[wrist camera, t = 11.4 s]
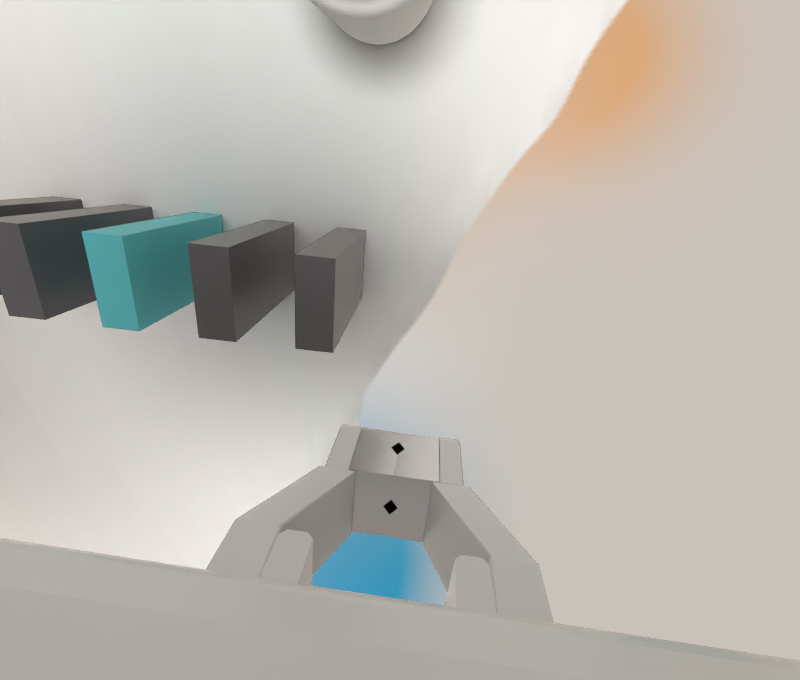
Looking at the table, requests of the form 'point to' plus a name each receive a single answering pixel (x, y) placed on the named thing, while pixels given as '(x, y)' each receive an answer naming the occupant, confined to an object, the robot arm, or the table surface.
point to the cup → (375, 17)
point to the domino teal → (145, 267)
